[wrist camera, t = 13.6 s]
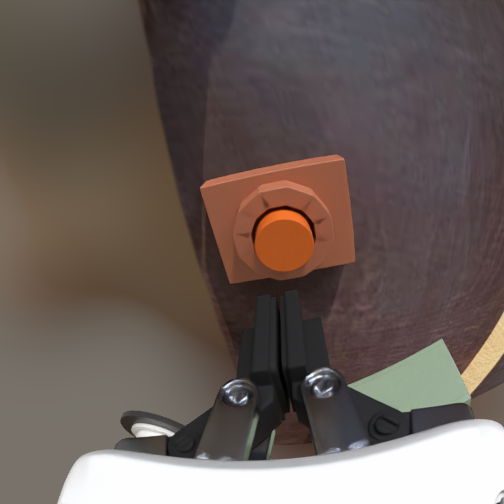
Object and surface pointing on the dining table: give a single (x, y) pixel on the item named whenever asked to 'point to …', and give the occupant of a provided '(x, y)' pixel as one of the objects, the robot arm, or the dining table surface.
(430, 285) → the dining table surface
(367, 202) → the dining table surface
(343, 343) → the dining table surface
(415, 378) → the fryer
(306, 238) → the button
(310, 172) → the control block
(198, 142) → the dining table surface
